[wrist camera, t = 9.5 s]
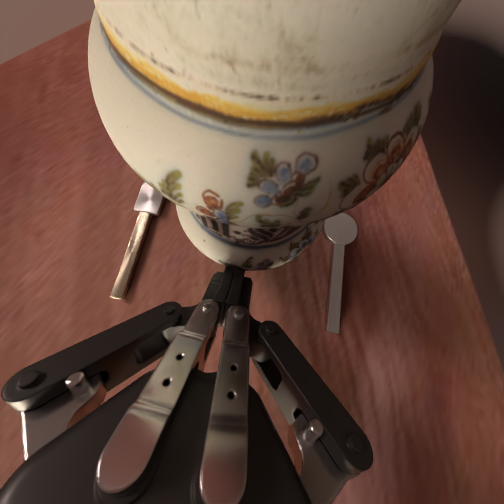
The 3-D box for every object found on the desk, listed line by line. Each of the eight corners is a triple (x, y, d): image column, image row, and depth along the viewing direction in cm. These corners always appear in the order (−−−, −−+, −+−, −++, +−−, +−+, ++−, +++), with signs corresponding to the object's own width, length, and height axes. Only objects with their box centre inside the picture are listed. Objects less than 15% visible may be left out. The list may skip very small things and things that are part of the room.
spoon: (348, 335, 19) (352, 336, 18) (311, 328, 19) (314, 329, 18) (354, 217, 22) (358, 215, 21) (322, 211, 22) (325, 208, 21)
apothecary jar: (261, 158, 23) (329, -301, 5) (324, 236, 21) (758, -74, 3) (173, 209, 21) (-208, -279, 3) (234, 301, 19) (143, 375, 1)
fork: (132, 300, 18) (129, 300, 18) (106, 295, 18) (101, 295, 18) (172, 175, 22) (171, 172, 21) (150, 171, 22) (148, 167, 21)
